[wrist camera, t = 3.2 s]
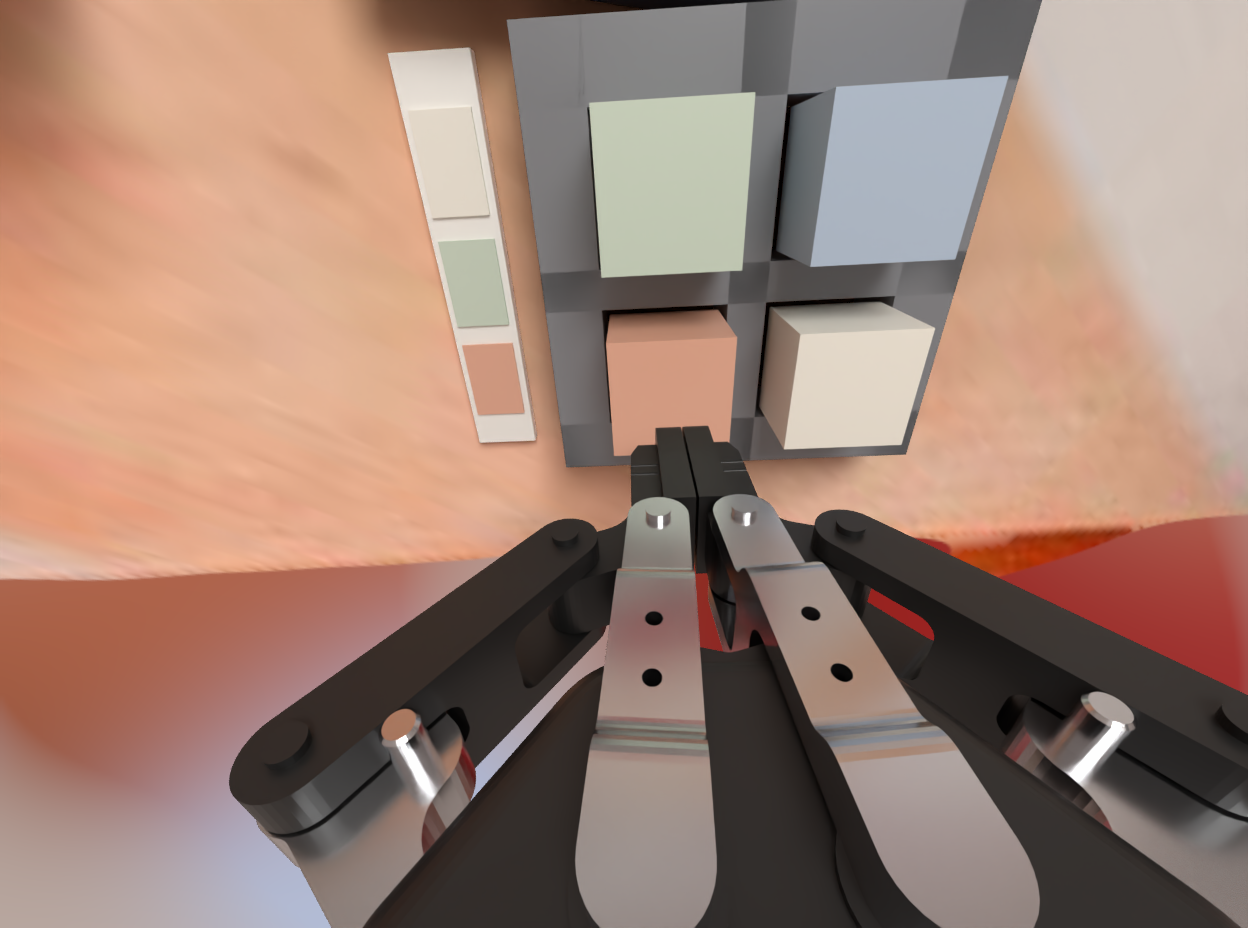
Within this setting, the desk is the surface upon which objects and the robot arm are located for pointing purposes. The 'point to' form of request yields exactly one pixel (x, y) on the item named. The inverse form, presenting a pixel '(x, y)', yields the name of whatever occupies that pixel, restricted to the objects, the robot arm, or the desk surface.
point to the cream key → (841, 374)
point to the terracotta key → (669, 374)
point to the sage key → (672, 183)
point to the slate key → (885, 170)
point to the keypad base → (780, 77)
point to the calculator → (673, 3)
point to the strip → (467, 233)
